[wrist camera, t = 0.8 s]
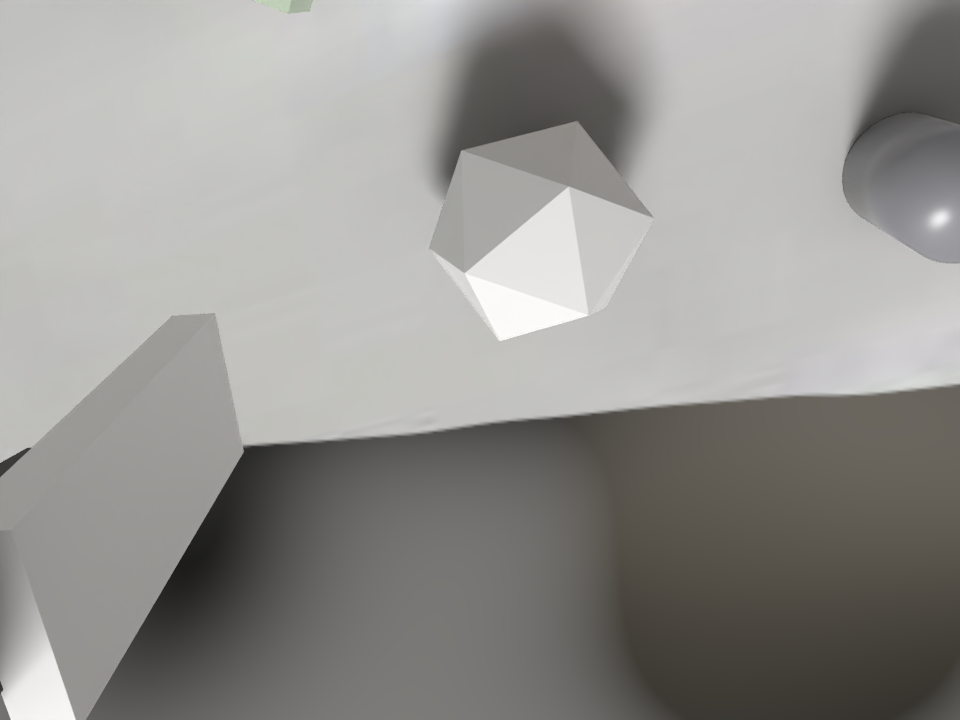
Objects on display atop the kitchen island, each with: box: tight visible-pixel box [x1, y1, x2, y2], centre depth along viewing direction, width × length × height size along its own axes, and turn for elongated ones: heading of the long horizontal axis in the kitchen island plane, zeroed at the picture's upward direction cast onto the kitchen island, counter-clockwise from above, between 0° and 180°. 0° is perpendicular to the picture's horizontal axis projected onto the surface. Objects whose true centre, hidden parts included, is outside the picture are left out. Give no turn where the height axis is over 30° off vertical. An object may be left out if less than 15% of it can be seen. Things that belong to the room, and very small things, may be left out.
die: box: [429, 121, 654, 341], centre depth 36 cm, size 8×9×10 cm
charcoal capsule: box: [842, 113, 960, 263], centre depth 35 cm, size 5×5×6 cm
